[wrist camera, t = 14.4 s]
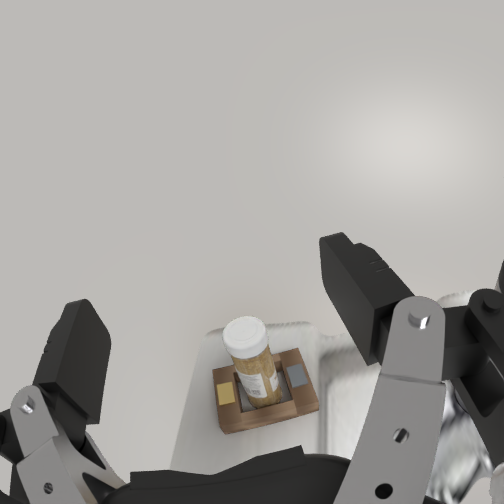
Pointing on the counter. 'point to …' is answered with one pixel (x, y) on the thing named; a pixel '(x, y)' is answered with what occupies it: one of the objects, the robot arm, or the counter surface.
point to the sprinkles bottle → (253, 360)
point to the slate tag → (297, 375)
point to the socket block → (298, 406)
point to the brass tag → (226, 394)
